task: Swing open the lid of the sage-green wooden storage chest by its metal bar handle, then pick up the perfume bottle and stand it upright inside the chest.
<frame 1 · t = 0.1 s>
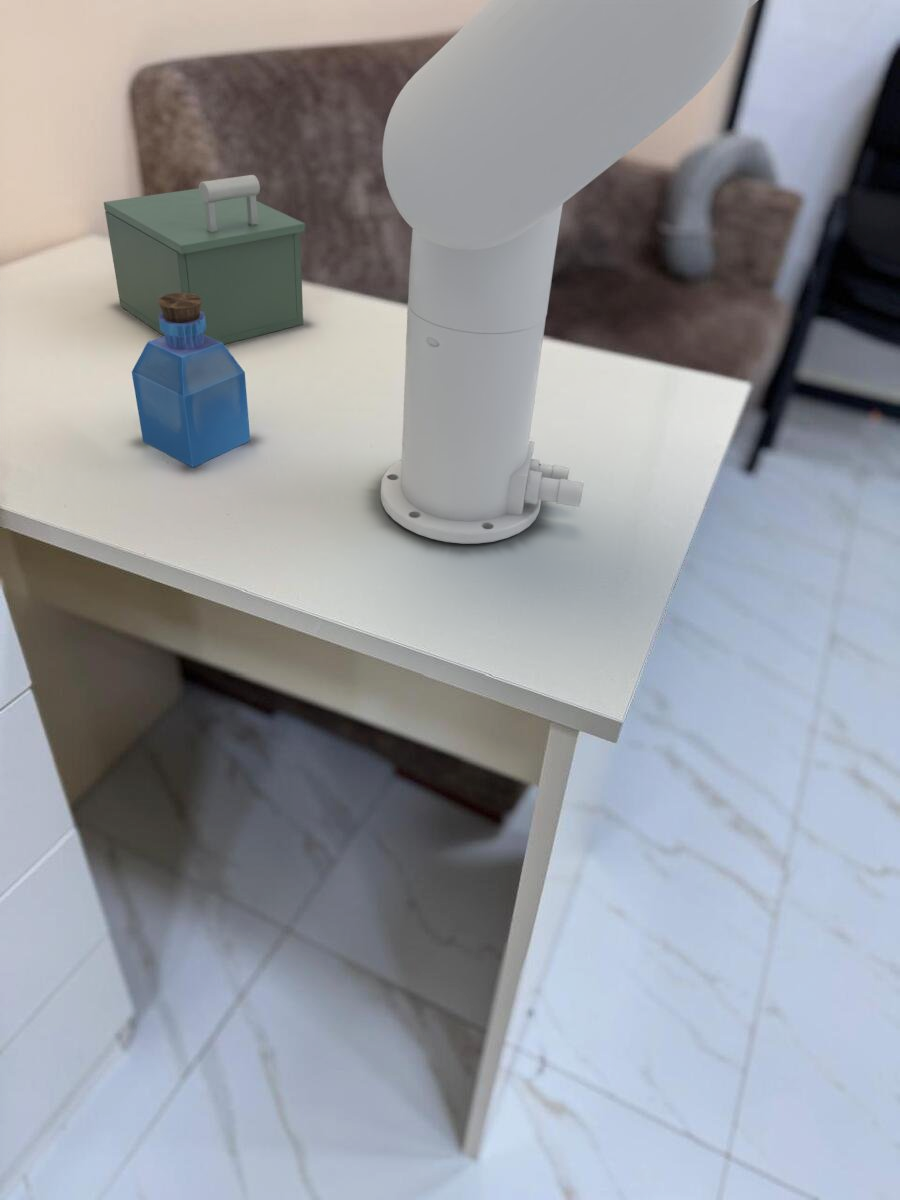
chest: (211, 315, 97), on the table
perfume bottle: (197, 443, 76), on the table
lid: (201, 193, 89), point 12 cm above the table, hinge at 0.0°
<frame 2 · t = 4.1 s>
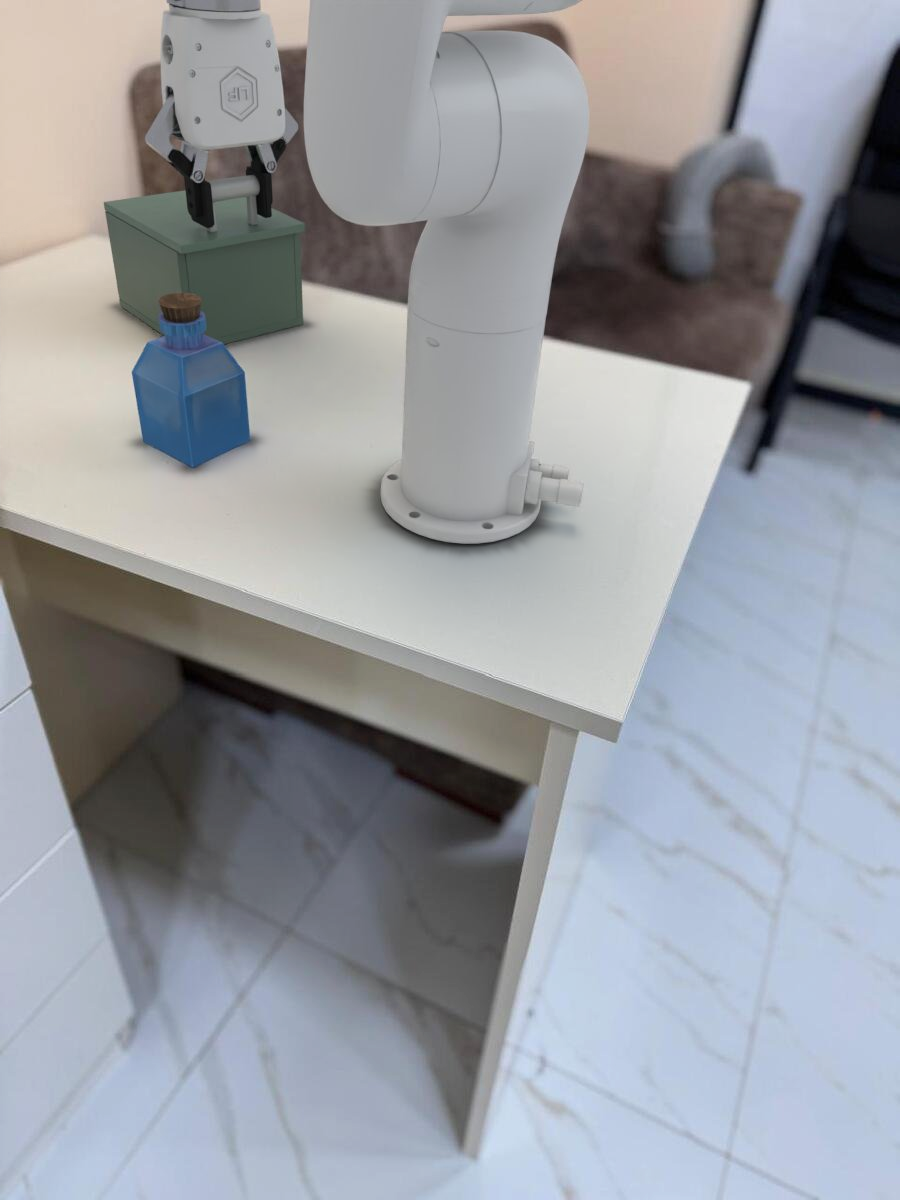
hand: (232, 217, 87), 12 cm above the table, tool pointing down, fingers closed on lid, 5 cm apart
lid: (201, 193, 89), point 12 cm above the table, hinge at 0.0°, touching gripper
everything else where it was.
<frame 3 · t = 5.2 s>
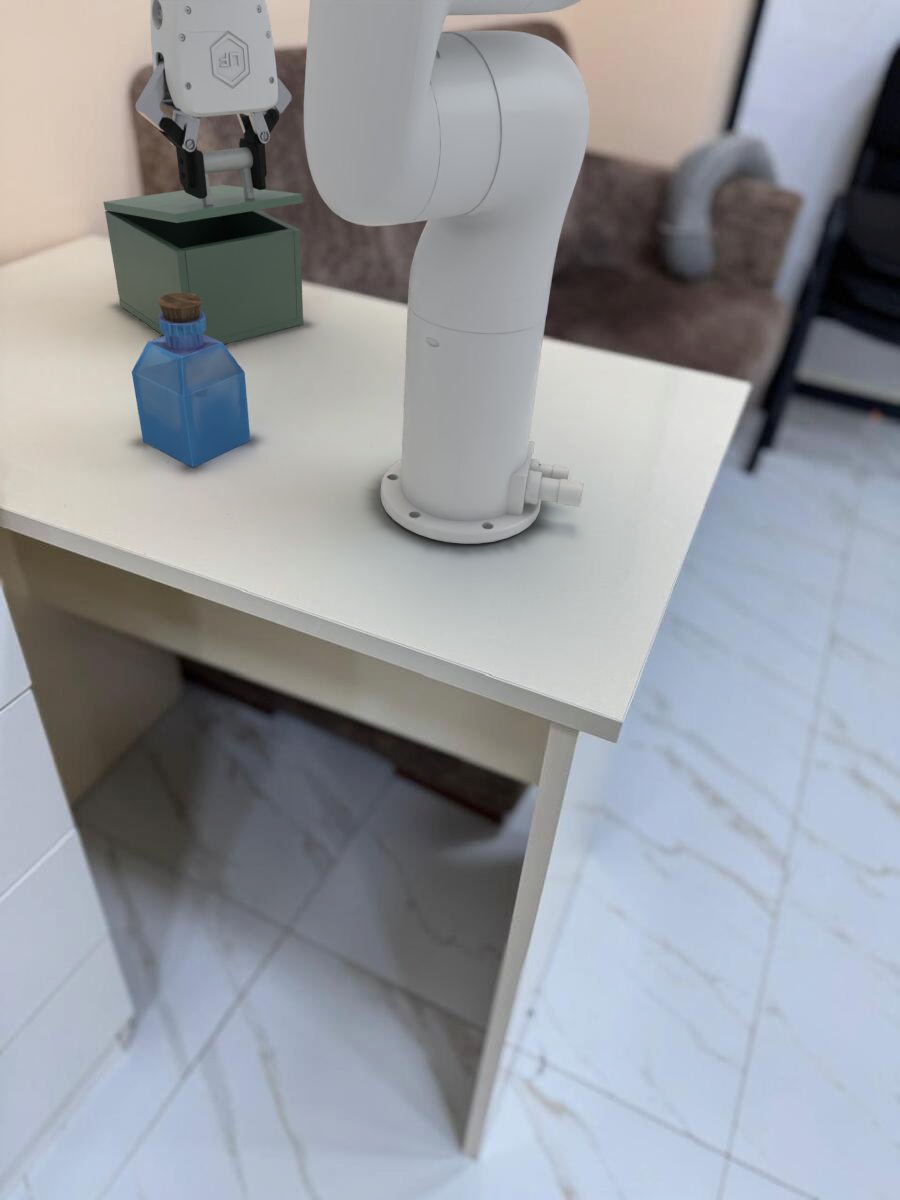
hand: (225, 189, 86), 14 cm above the table, tool pointing down, fingers closed on lid, 5 cm apart
lid: (197, 177, 89), point 14 cm above the table, hinge at 10.0°, touching gripper
everything else where it was.
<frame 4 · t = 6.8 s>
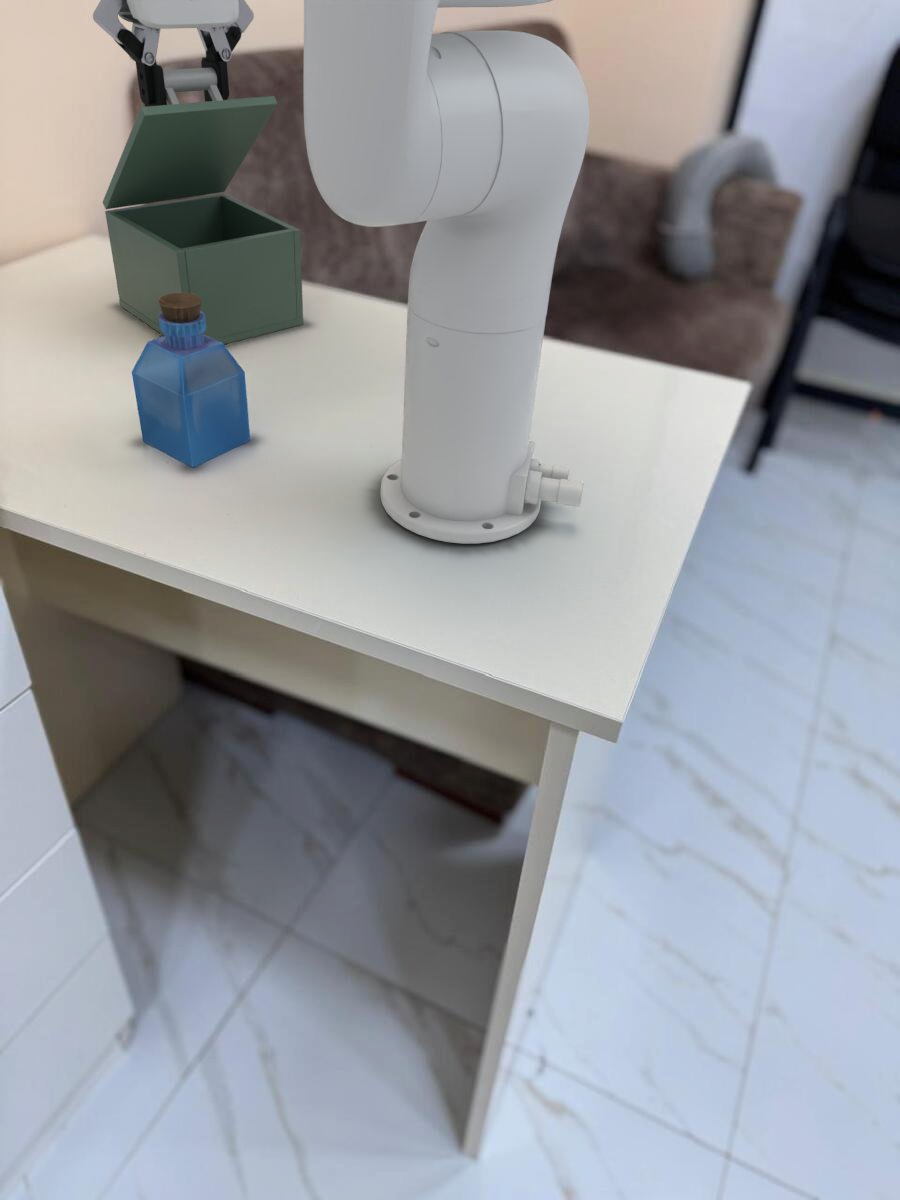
hand: (187, 108, 85), 20 cm above the table, tool pointing down, fingers closed on lid, 5 cm apart
lid: (177, 132, 88), point 17 cm above the table, hinge at 43.1°, touching gripper
everything else where it was.
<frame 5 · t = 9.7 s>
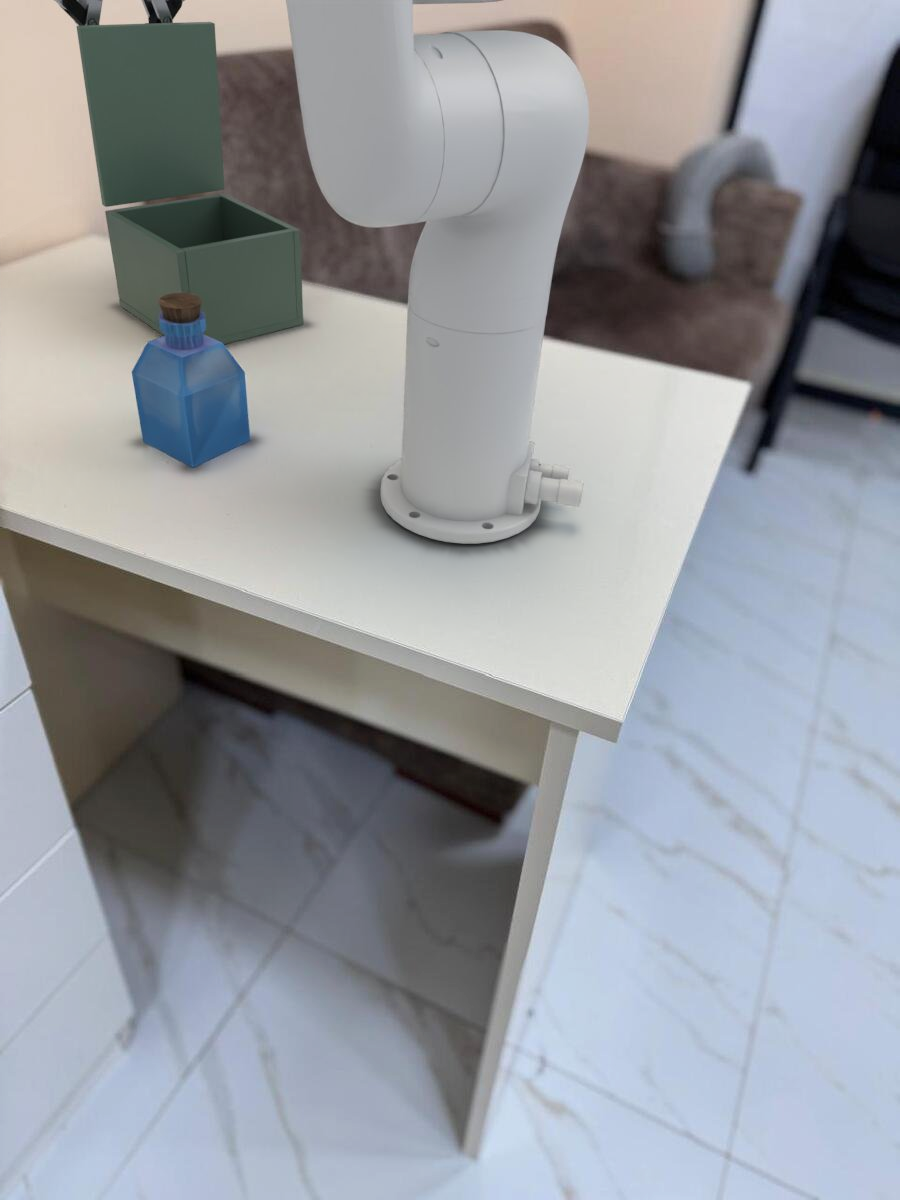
hand: (130, 71, 91), 21 cm above the table, tool pointing down, fingers closed on lid, 5 cm apart
lid: (146, 109, 91), point 18 cm above the table, hinge at 87.2°, touching gripper
everything else where it was.
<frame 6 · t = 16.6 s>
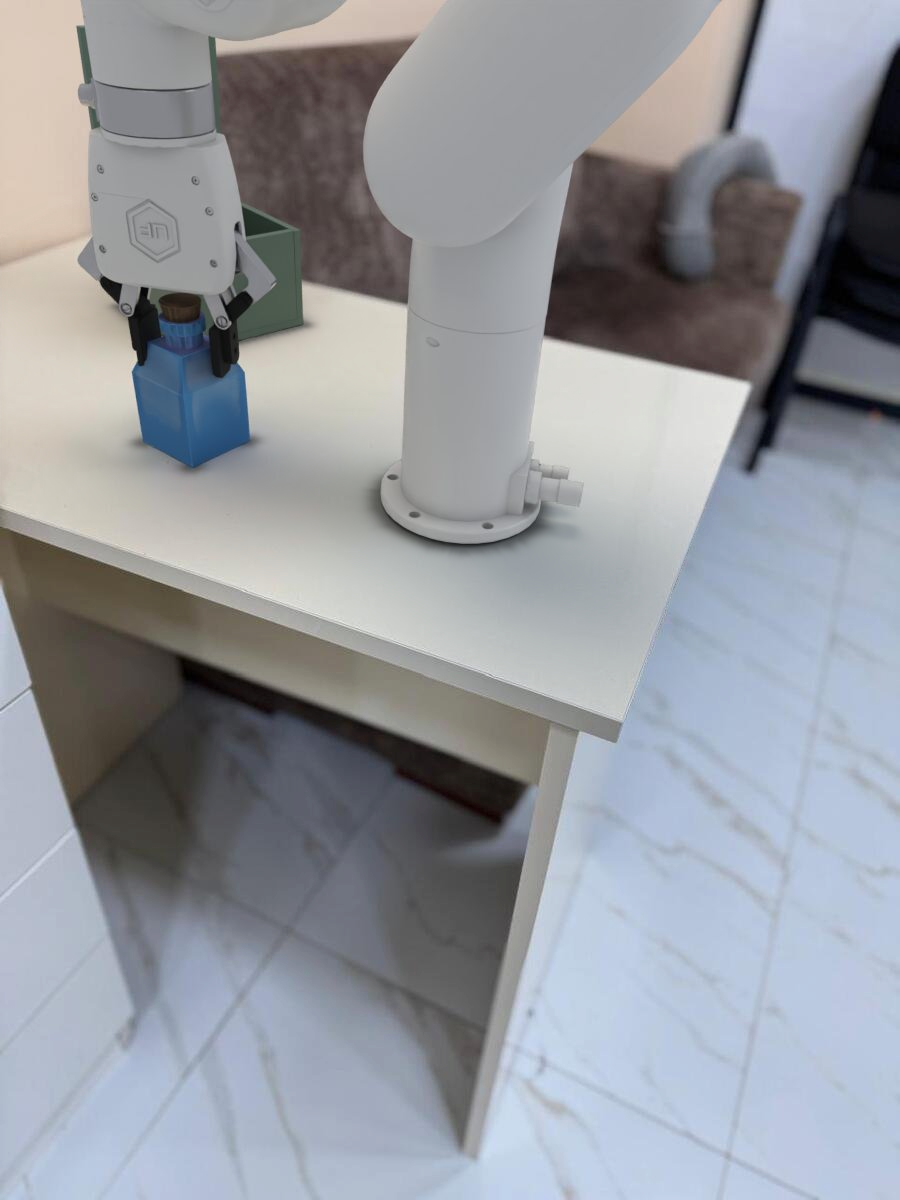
hand: (187, 363, 72), 7 cm above the table, tool pointing down, fingers closed on perfume bottle, 5 cm apart
perfume bottle: (197, 443, 76), on the table, touching gripper
lid: (146, 109, 91), point 18 cm above the table, hinge at 87.4°
when the fingers open (8 cm above the table, at t = 26.9 s): perfume bottle stays where it is, resting on chest.
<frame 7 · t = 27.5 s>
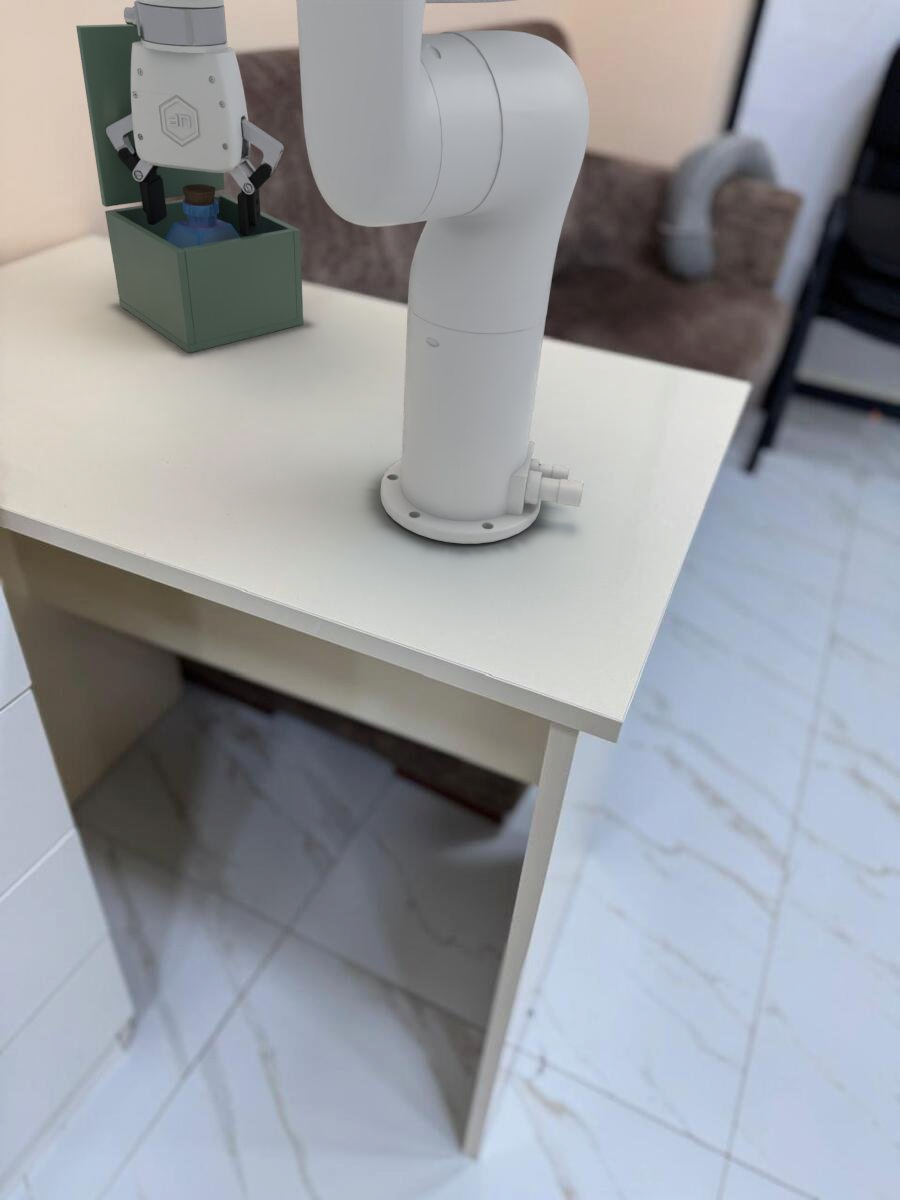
hand: (203, 226, 91), 9 cm above the table, tool pointing down, fingers open, 9 cm apart
perfume bottle: (211, 309, 97), point 1 cm above the table, touching chest
everything else where it was.
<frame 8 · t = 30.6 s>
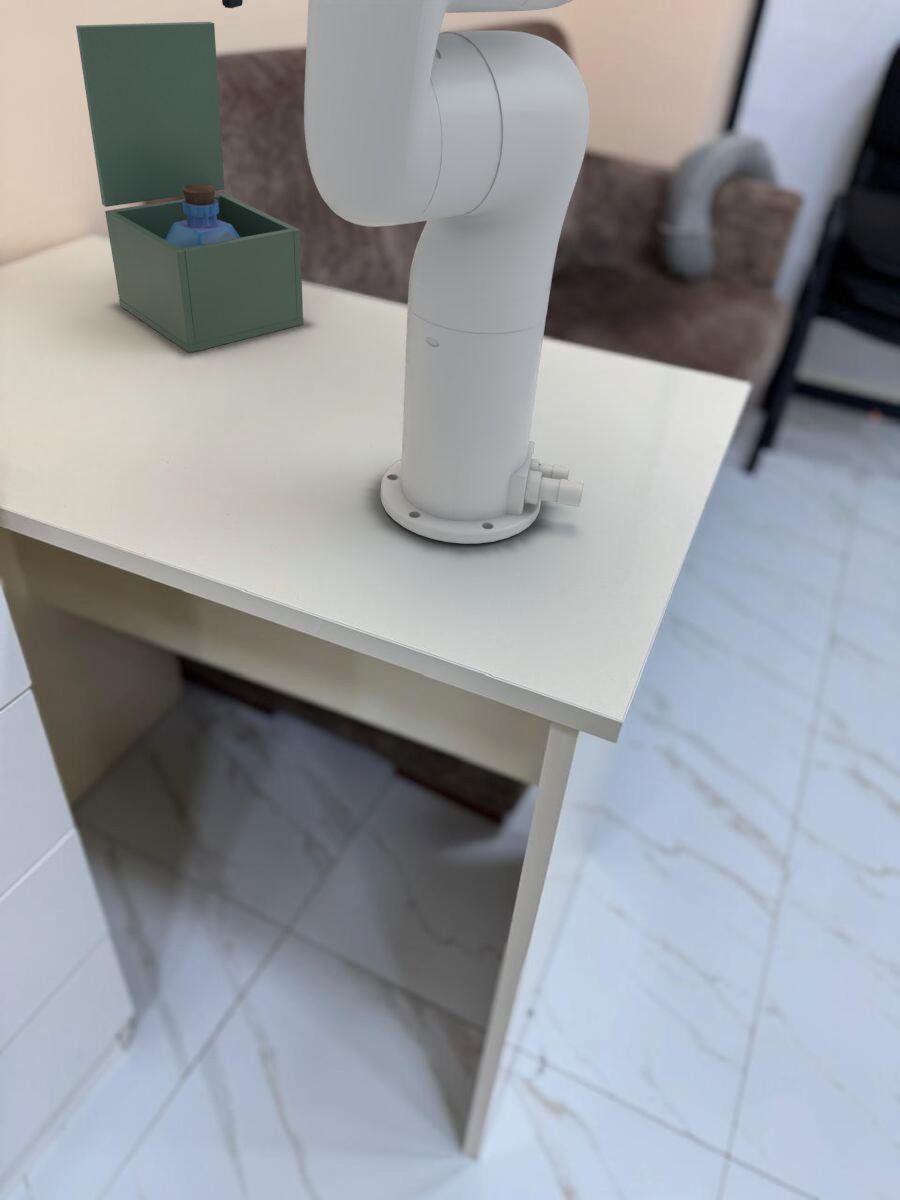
hand: (180, 1, 80), 28 cm above the table, tool pointing down, fingers open, 9 cm apart
nothing on the table moved.
at the end: lid at +88° (first picture: +0°); perfume bottle inside the target area in the chest (0.1 cm from its centre), point 0.6 cm above the chest's base; perfume bottle tilted 0° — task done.
